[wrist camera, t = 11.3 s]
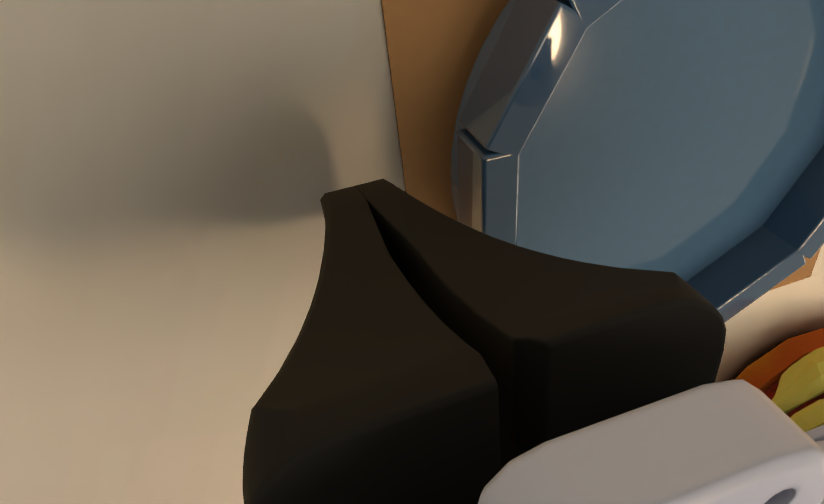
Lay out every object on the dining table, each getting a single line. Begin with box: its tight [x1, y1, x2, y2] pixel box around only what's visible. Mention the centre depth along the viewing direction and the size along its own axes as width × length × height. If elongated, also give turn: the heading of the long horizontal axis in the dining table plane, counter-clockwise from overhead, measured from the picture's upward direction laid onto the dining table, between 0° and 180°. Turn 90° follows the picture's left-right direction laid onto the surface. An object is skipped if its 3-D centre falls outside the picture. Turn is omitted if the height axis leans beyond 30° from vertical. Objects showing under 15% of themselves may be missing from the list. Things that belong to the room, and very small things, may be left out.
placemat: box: [382, 0, 821, 290], centre depth 16 cm, size 14×16×1 cm
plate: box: [451, 0, 824, 322], centre depth 15 cm, size 11×11×2 cm
